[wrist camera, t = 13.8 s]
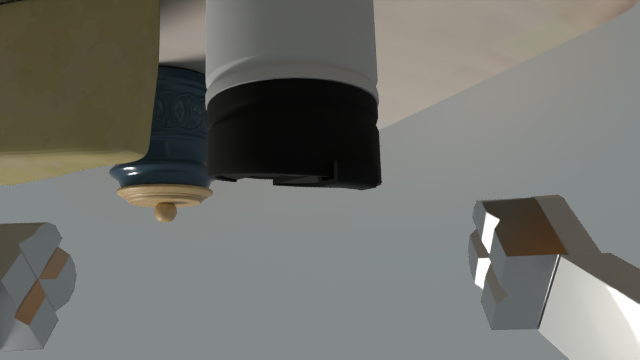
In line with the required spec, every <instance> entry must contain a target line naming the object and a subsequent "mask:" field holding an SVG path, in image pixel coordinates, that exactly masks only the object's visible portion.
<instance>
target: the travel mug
mask: <svg viewBox="0 0 640 360" xmlns="http://www.w3.org/2000/svg"><path fill="white" fill-rule="evenodd" d="M377 81H378V80H377V62H376V44H375V26H374V8H373V0H206V88H207V92H206V95H205V104H206V110H207V123H208V126H209V128H210V129H209V131H208V133H207V176H208V178H211V179H215V180H221V181H230V182H236V181H237V180H238V179H242V178H254V179H273V185H277V186H294V187H329V188H332V187H333V188H349V189H358V190H365V189H371V188H375V187H376V186H379V185H381V183H382V181H381V164H380V145H379V131H378V129H377V126H376V123H377V120H378V108H377V107H378V104H379V98H378V91H377V88H376V85H377Z"/></svg>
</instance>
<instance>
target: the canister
mask: <svg viewBox="0 0 640 360" xmlns="http://www.w3.org/2000/svg"><path fill="white" fill-rule="evenodd" d="M206 92H207V88H206V76H204V75H202V74H199V73H197V72H193V71H189V70H185V69H179V68H172V67H158V74H157V83H156V91H155V99H154V107H153V116H152V124H151V134H150V143H149V149H148V152H147V154H146V155H145V156H144V157H143V158H141V159H139V160H136V161H133V162H128V163H122V164H115V165H114V166H113V167H112V168H111V169H110V172H109V173H110V175H111V176H112V177H113V178H115V179H116V180H118V181H119V183H120V186H121V188H119V189H118V190H117V192H116V193H117V194H118V195H119V196H121V197H123V198H124V199H126V200H127V201H128V202H129V203H130V204H132V205H136V206H143V207H155V210H154V213H155V217H156V218H157V220H158V221H160V222H170V221H172V220H173V219H174V218H175V216H176V213H177V209H176V207H189V206H195V205H199V204H201V203H202V201H203V200H205V199H206V198H208V197H210V196H211V195H212V194H213V191H212V190H211V189H209V186H210V184H211V182H213V181H214V180H215V179H211V178H208V176H207V133H208V131H209V129H210V128H209V126H208V123H207V110H206V104H205V95H206Z"/></svg>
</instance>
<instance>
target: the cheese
mask: <svg viewBox="0 0 640 360" xmlns="http://www.w3.org/2000/svg"><path fill="white" fill-rule="evenodd" d="M159 40H160V0H22V1H17V2H12V3H6V4H1V5H0V185H15V184H20V183H25V182H29V181H35V180H41V179H46V178H52V177H56V176H61V175H64V174H68V173H72V172H76V171H80V170H85V169H90V168H95V167H101V166H106V165H113V164H122V163H128V162H133V161H136V160H139V159H141V158H143V157H144V156H145V155H146V154H147V152H148V149H149V143H150V134H151V124H152V116H153V107H154V99H155V91H156V83H157V74H158V63H159Z"/></svg>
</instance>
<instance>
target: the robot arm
mask: <svg viewBox="0 0 640 360" xmlns="http://www.w3.org/2000/svg"><path fill="white" fill-rule="evenodd" d="M473 220H474V223H475V225H476V228H477V229H476V230H475V231H474V232H473V233H472V234H471V235H470V239H469V248H468V251H469V264H470V269H471V274H472V277H473V280H474V283H475V284H477V285H478V286H479V287H481V288H482V289H483V292H482V298H481V303H482V305H483V308H484V311H485V314H486V317H487V319H488V322H489V324H490V328H491V330H507V329H508V330H509V329H539V332H540V333H541V334H542V335H543V336H544V337H545V338H547V339H548V340H549V341H550V342H551V343H552V344H553V345H554V346H555V347H557V348H558V349H559V350H560V351H561V352H562V353H563V354H564V355H565V356H566V357H567V358H568V359H570V360H640V269H639V268H637V267H635V266H633V265H631V264H629V263H628V262H626V261H624V260H622V259H621V258H619V257H617V256H615V255H613V254H611V253H601V251H600V250H599V248H598V247H597V246H596V244H595V243H594V241H593V240H592V238H591V237H590V236H589V234H588V233H587V231H586V230H585V228H584V227H583V225H582V224H581V223H580V221H579V220H578V218H577V217H576V215H575V214H574V212H573V211H572V210H571V208H570V207H569V205H568V204H567V202H566V201H565V199H564V198H563V197H561V196H560V195H547V196H535V197H530V198H516V199H515V198H514V199H497V200H480V201H477V202H476V204H475V206H474V212H473ZM61 240H62V237H61V236H60V234H59V232H58V230H57V228H56V226H55V225H53V224H50V223H13V224H0V352H9V351H23V350H36V349H43V348H44V346H45V344H46V342H47V341H48V339H49V337H50V335H51V333H52V331H53V329H54V328H55V326H56V324H57V322H58V317H57V314H56V310H58V309H59V308H61V307H62V306H63V305H65V304H66V303H67V302H68V301H69V299H70V297H71V295H72V293H73V291H74V288H75V281H76V271H75V265H74V262H73V260H72V258H71V256H70V255H69V254H68V253H66V252H65V251H64V250H62V249H61V248H59V244H60V242H61Z"/></svg>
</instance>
